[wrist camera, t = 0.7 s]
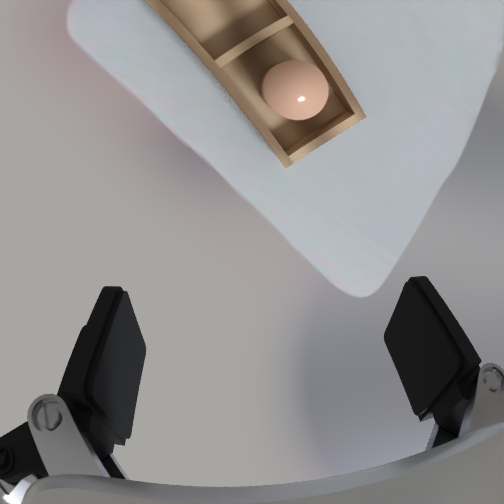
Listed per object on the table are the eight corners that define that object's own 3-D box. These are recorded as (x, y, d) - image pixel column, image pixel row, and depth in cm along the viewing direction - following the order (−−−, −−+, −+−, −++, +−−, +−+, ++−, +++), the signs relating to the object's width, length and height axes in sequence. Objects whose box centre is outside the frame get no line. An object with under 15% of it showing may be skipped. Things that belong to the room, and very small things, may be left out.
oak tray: (221, -54, 20) (220, -68, 16) (353, 112, 32) (366, 117, 29) (143, -4, 23) (133, -12, 19) (280, 158, 35) (285, 168, 32)
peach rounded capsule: (293, 53, 28) (305, 48, 22) (322, 95, 30) (339, 99, 25) (248, 81, 29) (252, 81, 24) (279, 122, 32) (289, 131, 27)
